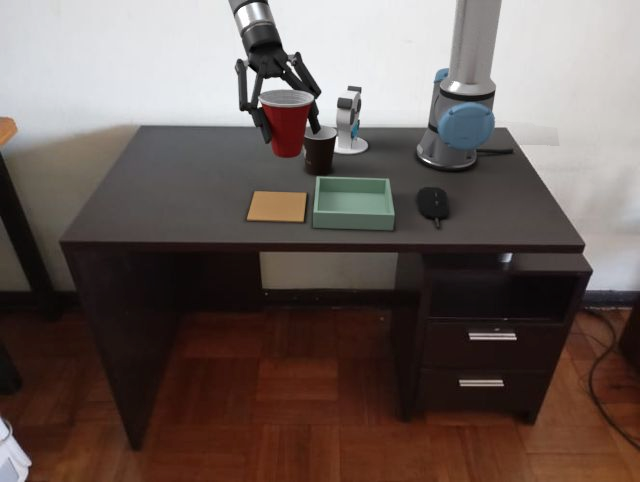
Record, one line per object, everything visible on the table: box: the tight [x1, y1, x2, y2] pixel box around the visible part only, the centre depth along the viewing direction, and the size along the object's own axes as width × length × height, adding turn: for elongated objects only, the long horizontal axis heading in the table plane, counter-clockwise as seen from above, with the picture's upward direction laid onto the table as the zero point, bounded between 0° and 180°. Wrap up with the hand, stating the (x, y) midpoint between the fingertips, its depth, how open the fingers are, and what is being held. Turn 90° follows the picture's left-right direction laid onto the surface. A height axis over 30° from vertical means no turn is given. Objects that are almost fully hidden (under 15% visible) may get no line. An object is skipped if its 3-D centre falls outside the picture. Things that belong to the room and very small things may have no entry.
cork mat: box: [246, 190, 307, 224], centre depth 111 cm, size 12×12×1 cm
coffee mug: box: [302, 124, 338, 176], centre depth 125 cm, size 12×9×10 cm
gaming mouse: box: [417, 186, 449, 229], centre depth 110 cm, size 6×15×4 cm, turn 177°
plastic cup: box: [258, 88, 314, 159], centre depth 100 cm, size 11×11×12 cm
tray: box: [312, 175, 396, 231], centre depth 110 cm, size 17×16×4 cm
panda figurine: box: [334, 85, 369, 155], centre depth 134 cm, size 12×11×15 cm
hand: (293, 136), depth 99 cm, fingers closed on plastic cup, 10 cm apart
